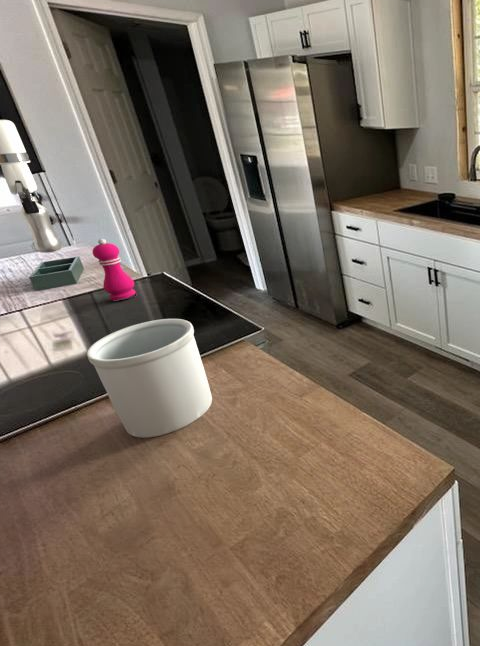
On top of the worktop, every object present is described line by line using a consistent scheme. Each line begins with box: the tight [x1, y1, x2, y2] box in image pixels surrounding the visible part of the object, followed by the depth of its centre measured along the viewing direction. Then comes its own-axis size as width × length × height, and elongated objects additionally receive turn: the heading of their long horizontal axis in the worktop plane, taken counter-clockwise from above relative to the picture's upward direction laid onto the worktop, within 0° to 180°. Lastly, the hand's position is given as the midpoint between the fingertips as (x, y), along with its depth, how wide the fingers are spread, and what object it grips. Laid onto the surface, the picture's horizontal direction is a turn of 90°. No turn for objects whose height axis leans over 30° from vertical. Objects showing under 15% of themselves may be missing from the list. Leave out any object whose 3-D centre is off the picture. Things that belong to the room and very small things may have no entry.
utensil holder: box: [86, 318, 213, 439], centre depth 79 cm, size 15×15×18 cm
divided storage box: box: [28, 255, 85, 292], centre depth 149 cm, size 10×19×5 cm, turn 39°
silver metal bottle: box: [20, 196, 63, 254], centre depth 146 cm, size 6×7×20 cm
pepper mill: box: [92, 238, 137, 301], centre depth 130 cm, size 7×7×20 cm
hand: (35, 211), depth 144 cm, fingers closed on silver metal bottle, 6 cm apart
